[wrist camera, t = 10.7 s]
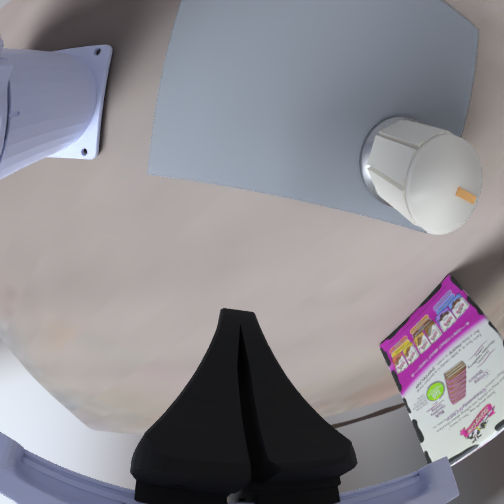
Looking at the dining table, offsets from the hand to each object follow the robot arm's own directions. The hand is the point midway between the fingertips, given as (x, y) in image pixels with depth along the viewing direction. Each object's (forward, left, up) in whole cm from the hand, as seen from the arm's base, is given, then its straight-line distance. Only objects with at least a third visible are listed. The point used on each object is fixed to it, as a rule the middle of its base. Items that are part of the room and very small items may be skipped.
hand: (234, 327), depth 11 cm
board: (+4, +13, -9) cm, 16 cm away
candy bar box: (+22, -6, -10) cm, 25 cm away
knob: (+10, +8, -8) cm, 15 cm away
